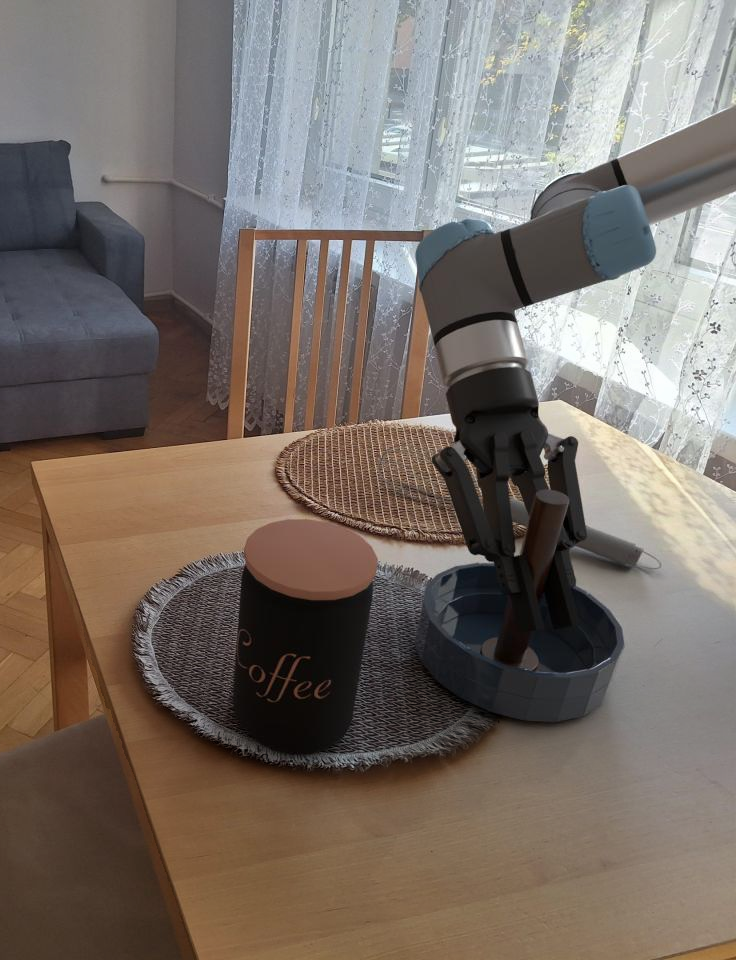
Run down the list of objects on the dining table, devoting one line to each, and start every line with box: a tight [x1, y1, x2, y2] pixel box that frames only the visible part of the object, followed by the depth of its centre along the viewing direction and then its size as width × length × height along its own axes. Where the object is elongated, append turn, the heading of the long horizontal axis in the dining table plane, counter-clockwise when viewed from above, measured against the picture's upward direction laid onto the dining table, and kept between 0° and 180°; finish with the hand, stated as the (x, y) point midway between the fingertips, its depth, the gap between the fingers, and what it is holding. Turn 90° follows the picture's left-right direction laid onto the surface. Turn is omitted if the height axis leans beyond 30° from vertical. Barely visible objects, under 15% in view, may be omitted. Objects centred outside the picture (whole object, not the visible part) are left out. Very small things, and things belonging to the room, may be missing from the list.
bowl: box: [414, 562, 626, 723], centre depth 83 cm, size 17×17×6 cm
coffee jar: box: [232, 518, 379, 756], centre depth 74 cm, size 11×11×18 cm
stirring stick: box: [480, 489, 569, 672], centre depth 77 cm, size 5×5×18 cm
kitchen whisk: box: [376, 444, 662, 570], centre depth 105 cm, size 6×34×6 cm, turn 48°
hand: (549, 628), depth 75 cm, fingers closed on stirring stick, 3 cm apart
